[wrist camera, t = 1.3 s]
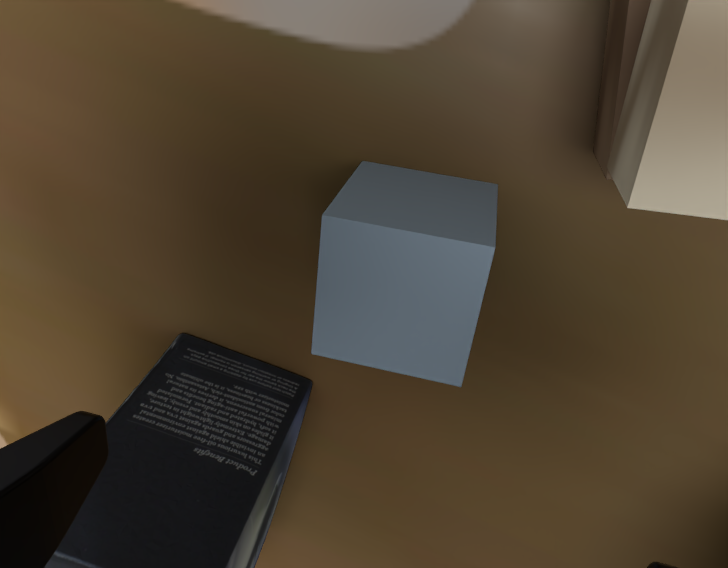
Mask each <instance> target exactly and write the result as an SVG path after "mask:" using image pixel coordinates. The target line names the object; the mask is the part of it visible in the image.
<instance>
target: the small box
mask: <svg viewBox="0 0 728 568" xmlns="http://www.w3.org/2000/svg"><path fill="white" fill-rule="evenodd" d="M311 388H312V381H311V380H308V379H306V378H304V377H301V376H299V375H296V374H293V373H291V372H288V371H285V370H283V369H280V368H277V367H275V366H272V365H269V364H266V363H264V362H261V361H259V360H256V359H253V358H251V357H248V356H245V355H242V354H240V353H237V352H234V351H232V350H229V349H226V348H223V347H220V346H218V345H215V344H212V343H210V342H207V341H204V340H202V339H199V338H196V337H193V336H191V335H187V334H184V333H182V334H180V335H178V336H177V337H176V339H175V340H174V341H173V342H172V344H171V345H170V347H169V348H168V349H167V350H166V351H165V352H164V354H163V355H162V357H161V358H160V359H159V360H158V362H157V363H156V364H155V365H154V367H153V368H152V369H151V370H150V371H149V373H148V374H147V375H146V376H145V377H144V378H143V380H142V381H141V382H140V384H139V385H138V386H137V387H136V388H135V389H134V390H133V391H132V393H131V394H130V395H129V396H128V397H127V398H126V399H125V401H124V402H123V403H122V405H121V406H120V407H119V408H118V409H117V410H116V412H115V413H114V414H113V415H112V416H111V417H110V418H109V420H108V421H107V422H106V423H105V424H106V432H107V440H108V447H109V453H108V458H107V461H106V463H105V465H104V467H103V469H102V471H101V473H100V474H99V476H98V478H97V480H96V482H95V483H94V485H93V487H92V489H91V490H90V492H89V494H88V496H87V498H86V499H85V501H84V503H83V505H82V506H81V508H80V510H79V512H78V514H77V515H76V517H75V519H74V521H73V522H72V524H71V526H70V528H69V530H68V531H67V533H66V535H65V537H64V538H63V540H62V542H61V543H60V545H59V547H58V548H57V550H56V551H55V553H54V554H53V556H52V557H51V559H50V560H49V562H48V563H47V564H46V566H45V567H44V568H254V567H255V564H256V562H257V559H258V557H259V554H260V551H261V549H262V546H263V544H264V541H265V538H266V535H267V533H268V529H269V527H270V524H271V521H272V518H273V514H274V511H275V509H276V506H277V503H278V500H279V496H280V493H281V490H282V487H283V484H284V480H285V477H286V474H287V470H288V467H289V464H290V461H291V458H292V454H293V451H294V448H295V445H296V441H297V438H298V435H299V431H300V428H301V424H302V421H303V417H304V413H305V410H306V406H307V403H308V399H309V395H310V392H311Z"/></svg>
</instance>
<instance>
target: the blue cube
mask: <svg viewBox="0 0 728 568" xmlns="http://www.w3.org/2000/svg"><path fill="white" fill-rule="evenodd" d="M497 196H498V184H494V183H488V182H482V181H476V180H470V179H465V178H459V177H453V176H447V175H442V174H436V173H430V172H424V171H419V170H413V169H407V168H401V167H396V166H390V165H384V164H378V163H373V162H367V161H362V162H361V163H360V165H359V166H358V167H357V169H356V170H355V171H354V173H353V174H352V175H351V177H350V178H349V180H348V181H347V182H346V184H345V185H344V186H343V188H342V189H341V190H340V192H339V193H338V194H337V196H336V197H335V198H334V200H333V201H332V202H331V204H330V205H329V206H328V208H327V209H326V210H325V212H324V213H323V214H322V223H321V236H320V249H319V261H318V274H317V287H316V300H315V312H314V325H313V338H312V351H311V354H314V355H319V356H323V357H328V358H332V359H337V360H341V361H346V362H350V363H355V364H359V365H364V366H368V367H373V368H377V369H382V370H386V371H391V372H396V373H400V374H405V375H409V376H414V377H418V378H423V379H427V380H432V381H436V382H441V383H445V384H450V385H454V386H459V387H461V386H462V382H463V378H464V374H465V369H466V365H467V361H468V357H469V353H470V349H471V345H472V341H473V337H474V333H475V329H476V325H477V321H478V316H479V312H480V308H481V304H482V300H483V296H484V292H485V288H486V284H487V280H488V276H489V272H490V268H491V264H492V259H493V255H494V251H495V246H496V221H497Z"/></svg>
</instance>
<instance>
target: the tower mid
mask: <svg viewBox="0 0 728 568" xmlns="http://www.w3.org/2000/svg"><path fill="white" fill-rule="evenodd" d="M607 169H608V171H609V173H610V175H611V176H612V178H613V180H614V182H615V184H616V186H617V188H618V190H619V192H620V194H621V196H622V198H623V200H624V202H625V204H626V206H627V208H633V209H641V210H650V211H658V212H666V213H674V214H682V215H690V216H698V217H706V218H714V219H722V220H728V0H651V3H650V7H649V11H648V14H647V18H646V22H645V26H644V29H643V33H642V37H641V41H640V44H639V48H638V52H637V56H636V59H635V63H634V67H633V71H632V74H631V78H630V82H629V86H628V89H627V93H626V97H625V101H624V105H623V108H622V112H621V116H620V120H619V123H618V127H617V131H616V135H615V138H614V142H613V146H612V150H611V153H610V157H609V161H608V165H607Z"/></svg>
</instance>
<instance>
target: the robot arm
mask: <svg viewBox="0 0 728 568" xmlns="http://www.w3.org/2000/svg"><path fill="white" fill-rule="evenodd" d="M108 453H109V447H108V440H107V432H106V424H105V420H104V418H103V417H102V416H100V415H97V414H93V413H89V412H85V411H79V412H75V413H73V414H71V415H69V416H67V417H65V418H63V419H61V420H59V421H56V422H54V423H52V424H50V425H48V426H46V427H44V428H42V429H40V430H38V431H36V432H34V433H32V434H30V435H28V436H26V437H23V438H21V439H19V440H17V441H15V442H13V443H11V444H9V445H7V446H5V447H3V448H1V449H0V568H44V567H45V566H46V564H47V563H48V562H49V560H50V559H51V557H52V556H53V554H54V553H55V551H56V550H57V548H58V547H59V545H60V543H61V542H62V540H63V538H64V537H65V535H66V533H67V531H68V530H69V528H70V526H71V524H72V522H73V521H74V519H75V517H76V515H77V514H78V512H79V510H80V508H81V506H82V505H83V503H84V501H85V499H86V498H87V496H88V494H89V492H90V490H91V489H92V487H93V485H94V483H95V482H96V480H97V478H98V476H99V474H100V473H101V471H102V469H103V467H104V465H105V463H106V461H107V458H108ZM647 568H678V567H675V566H671V565H667V564H664V563H660V562H652V563H650V564H649V566H648V567H647Z"/></svg>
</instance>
